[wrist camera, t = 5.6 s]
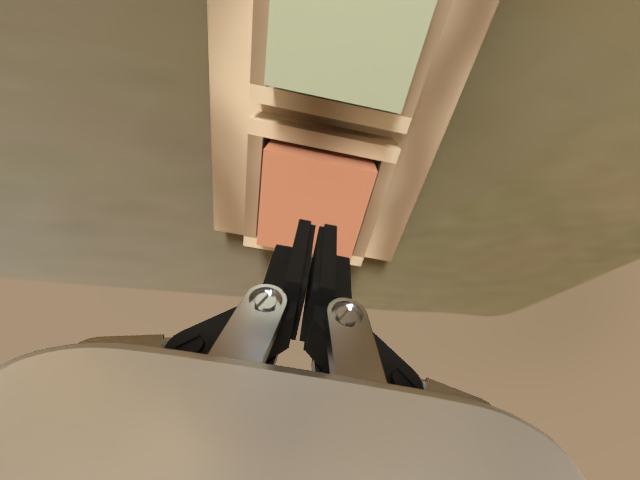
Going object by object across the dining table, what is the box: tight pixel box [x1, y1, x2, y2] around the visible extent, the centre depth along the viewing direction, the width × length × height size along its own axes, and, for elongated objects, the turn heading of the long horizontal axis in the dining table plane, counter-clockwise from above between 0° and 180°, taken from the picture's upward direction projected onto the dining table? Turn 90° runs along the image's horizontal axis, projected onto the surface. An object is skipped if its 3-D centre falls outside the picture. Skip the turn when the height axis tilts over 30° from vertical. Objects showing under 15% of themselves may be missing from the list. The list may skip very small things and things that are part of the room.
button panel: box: [207, 0, 500, 266], centre depth 14 cm, size 14×28×4 cm, turn 169°
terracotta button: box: [257, 139, 378, 260], centre depth 17 cm, size 6×6×3 cm
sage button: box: [264, 0, 438, 114], centre depth 12 cm, size 6×6×3 cm
